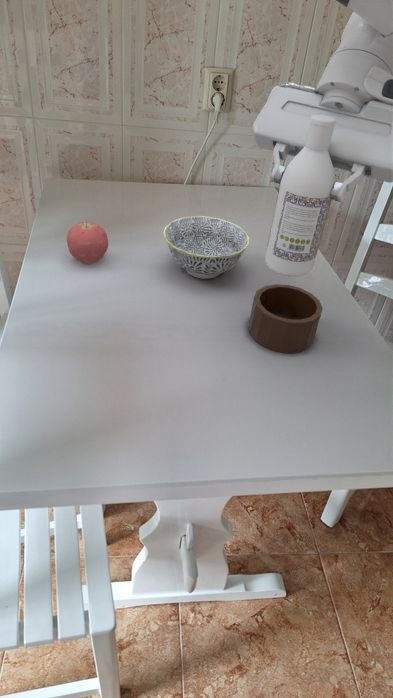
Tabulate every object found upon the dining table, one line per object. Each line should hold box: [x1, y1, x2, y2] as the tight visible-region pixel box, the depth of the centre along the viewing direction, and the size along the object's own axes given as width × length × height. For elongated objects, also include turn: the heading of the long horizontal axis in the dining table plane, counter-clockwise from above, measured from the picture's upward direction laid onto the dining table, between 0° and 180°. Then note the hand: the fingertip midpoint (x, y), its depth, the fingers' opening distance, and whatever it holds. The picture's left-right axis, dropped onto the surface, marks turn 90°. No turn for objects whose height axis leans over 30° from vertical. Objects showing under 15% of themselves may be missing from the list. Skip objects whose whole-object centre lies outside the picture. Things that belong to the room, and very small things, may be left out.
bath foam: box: [264, 115, 336, 277], centre depth 64 cm, size 7×7×20 cm
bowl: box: [163, 215, 250, 280], centre depth 92 cm, size 16×16×8 cm
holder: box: [248, 283, 324, 354], centre depth 79 cm, size 11×11×6 cm
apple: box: [66, 220, 109, 265], centre depth 91 cm, size 7×7×8 cm
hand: (305, 189), depth 63 cm, fingers closed on bath foam, 7 cm apart
